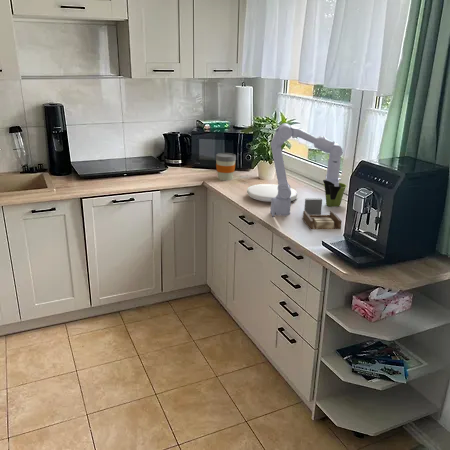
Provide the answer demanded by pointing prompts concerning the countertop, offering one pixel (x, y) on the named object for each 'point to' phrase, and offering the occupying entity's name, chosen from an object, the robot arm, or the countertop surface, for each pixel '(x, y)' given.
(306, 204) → the gray block
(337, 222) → the walnut rack
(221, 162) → the reusable coffee cup
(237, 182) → the countertop surface
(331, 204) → the plant pot
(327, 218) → the birch offcut
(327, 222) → the birch offcut
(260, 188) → the plate
